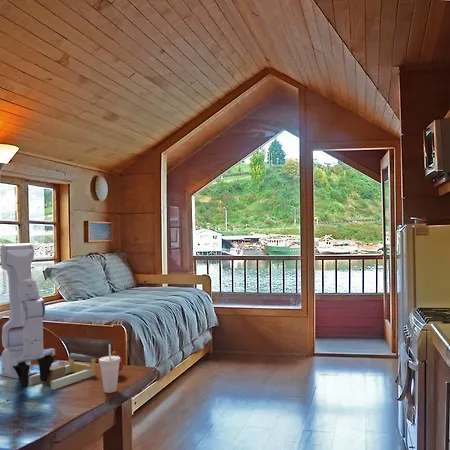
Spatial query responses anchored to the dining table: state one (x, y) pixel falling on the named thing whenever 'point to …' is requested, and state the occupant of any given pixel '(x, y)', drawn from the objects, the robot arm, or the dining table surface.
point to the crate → (55, 373)
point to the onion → (119, 362)
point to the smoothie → (109, 371)
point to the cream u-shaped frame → (79, 371)
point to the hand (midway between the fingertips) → (34, 383)
